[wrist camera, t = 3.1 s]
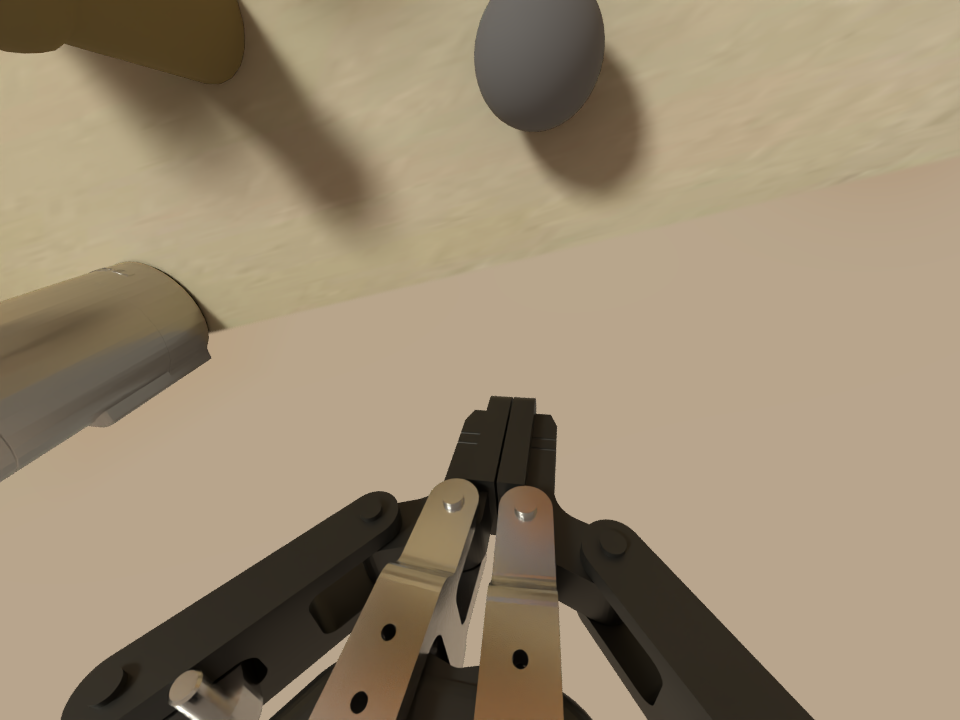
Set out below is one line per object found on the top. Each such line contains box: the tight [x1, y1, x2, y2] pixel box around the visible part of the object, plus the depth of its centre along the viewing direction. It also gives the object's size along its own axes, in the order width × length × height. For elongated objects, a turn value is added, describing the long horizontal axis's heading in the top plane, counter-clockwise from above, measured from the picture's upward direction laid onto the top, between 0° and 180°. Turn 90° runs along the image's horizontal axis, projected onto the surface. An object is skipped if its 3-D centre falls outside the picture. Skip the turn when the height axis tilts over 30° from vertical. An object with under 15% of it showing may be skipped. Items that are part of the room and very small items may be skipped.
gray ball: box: [474, 0, 605, 132], centre depth 17 cm, size 6×6×6 cm
